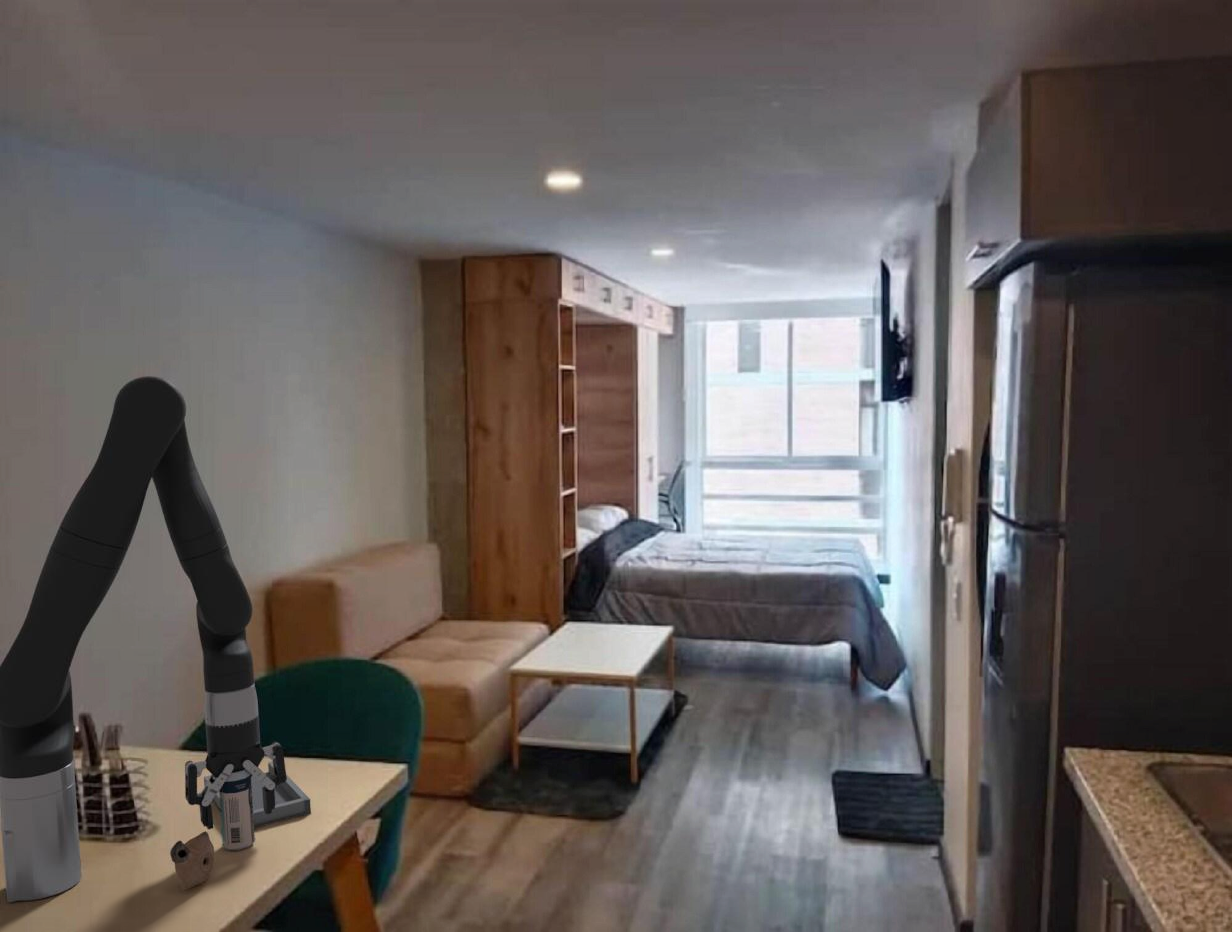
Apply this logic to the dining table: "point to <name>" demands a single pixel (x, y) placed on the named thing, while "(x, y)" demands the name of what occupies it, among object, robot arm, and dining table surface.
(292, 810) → the tray
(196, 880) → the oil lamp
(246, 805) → the beer can
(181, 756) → the dining table surface
